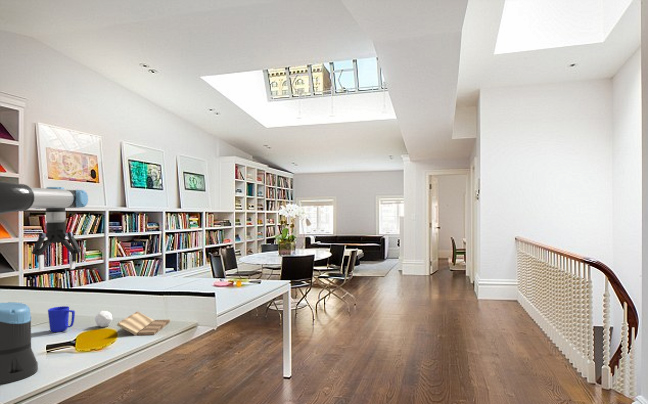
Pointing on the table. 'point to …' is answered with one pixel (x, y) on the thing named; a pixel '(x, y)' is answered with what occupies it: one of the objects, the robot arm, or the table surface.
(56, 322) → the mug
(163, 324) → the laid strip
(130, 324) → the plank
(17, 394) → the table surface
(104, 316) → the ornament
